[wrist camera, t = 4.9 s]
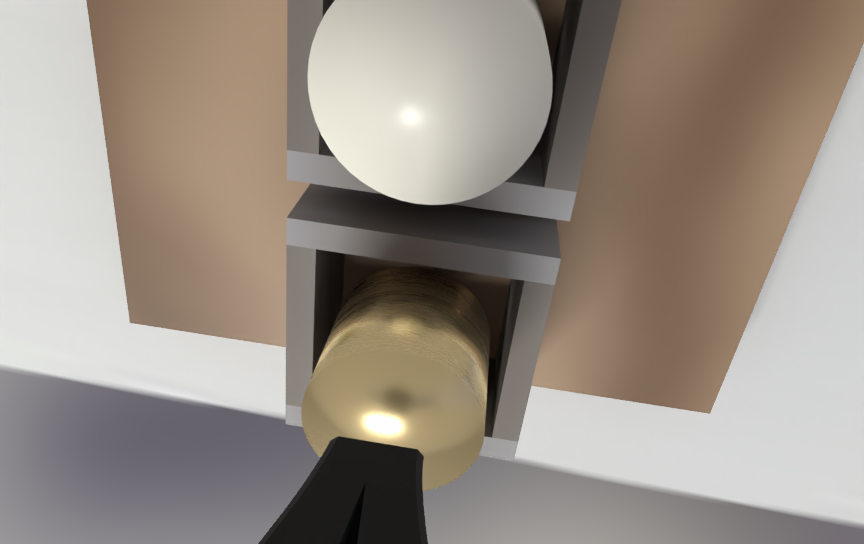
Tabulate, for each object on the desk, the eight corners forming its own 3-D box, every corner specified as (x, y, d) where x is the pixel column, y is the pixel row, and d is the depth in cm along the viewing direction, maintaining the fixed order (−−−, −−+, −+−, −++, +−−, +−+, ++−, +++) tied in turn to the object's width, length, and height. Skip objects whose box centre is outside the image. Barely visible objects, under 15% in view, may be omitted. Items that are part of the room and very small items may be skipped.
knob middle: (562, -46, 11) (576, -25, 9) (525, 152, 13) (528, 220, 10) (357, -73, 11) (309, -61, 9) (347, 127, 13) (305, 187, 10)
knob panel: (1028, -511, 11) (1357, -766, 7) (693, 367, 20) (741, 500, 16) (70, -610, 12) (-193, -901, 7) (162, 285, 21) (68, 392, 16)
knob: (502, 279, 14) (498, 367, 12) (478, 404, 16) (470, 505, 13) (341, 255, 14) (302, 337, 12) (335, 381, 16) (300, 477, 13)
